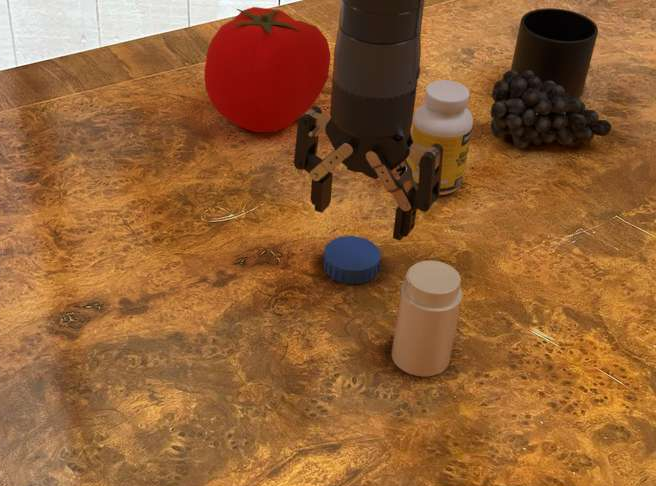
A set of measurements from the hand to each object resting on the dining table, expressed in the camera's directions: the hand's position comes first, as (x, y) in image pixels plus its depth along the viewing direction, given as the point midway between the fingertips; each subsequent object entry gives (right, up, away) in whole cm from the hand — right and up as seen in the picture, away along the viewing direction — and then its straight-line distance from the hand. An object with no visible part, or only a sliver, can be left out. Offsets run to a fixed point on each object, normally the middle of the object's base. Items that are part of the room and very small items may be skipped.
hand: (361, 221), depth 105 cm
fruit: (+24, +11, +23) cm, 35 cm away
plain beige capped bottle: (+5, -13, -6) cm, 15 cm away
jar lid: (-1, -3, +3) cm, 5 cm away
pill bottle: (+10, +6, +16) cm, 20 cm away
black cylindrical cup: (+27, +20, +34) cm, 48 cm away
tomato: (-9, +15, +26) cm, 31 cm away
